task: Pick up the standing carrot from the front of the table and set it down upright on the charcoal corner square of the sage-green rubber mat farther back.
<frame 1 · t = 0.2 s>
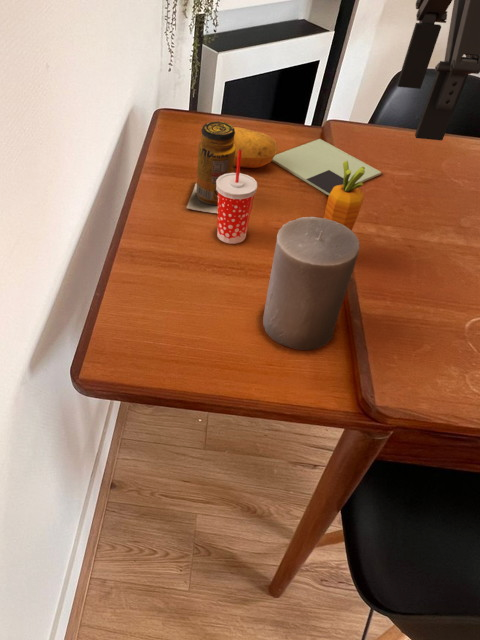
hand: (417, 110, 59), 24 cm above the table, tool pointing down, fingers open, 13 cm apart
condiment: (211, 200, 91), on the table
pillar candle: (296, 326, 71), on the table
beverage cup: (231, 236, 84), on the table
carrot: (329, 257, 82), on the table
potato: (238, 164, 100), on the table
corner mat: (324, 166, 100), on the table
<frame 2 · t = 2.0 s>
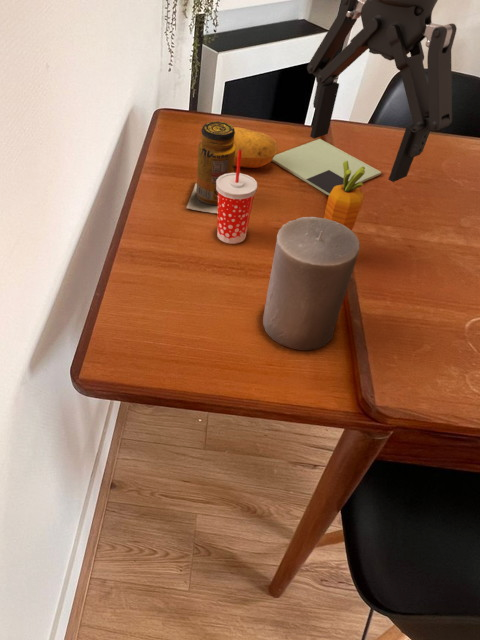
hand: (356, 155, 69), 16 cm above the table, tool pointing down, fingers open, 13 cm apart
nothing on the table moved.
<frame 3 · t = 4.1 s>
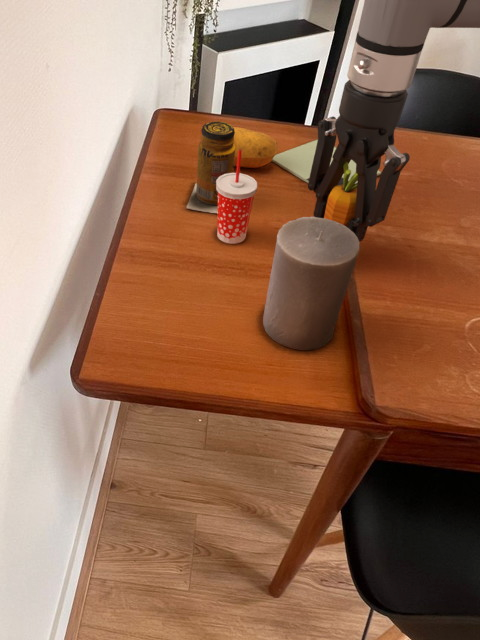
hand: (332, 247, 80), 2 cm above the table, tool pointing down, fingers closed on carrot, 5 cm apart
carrot: (329, 257, 82), on the table, touching gripper
everything else where it was.
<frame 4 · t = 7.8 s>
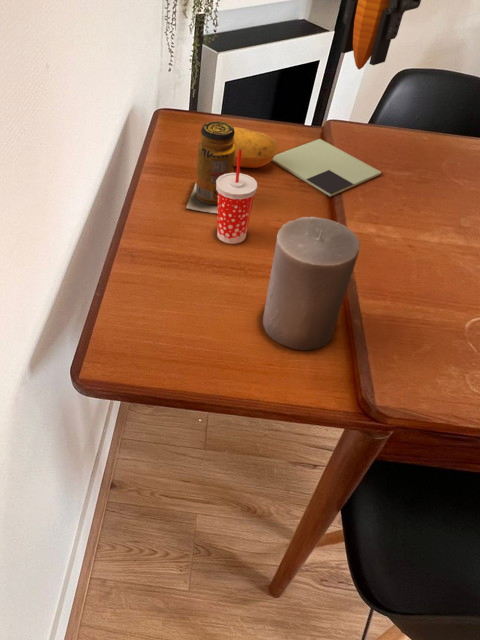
hand: (362, 56, 78), 22 cm above the table, tool pointing down, fingers closed on carrot, 5 cm apart
carrot: (358, 70, 80), point 20 cm above the table, touching gripper
everything else where it was.
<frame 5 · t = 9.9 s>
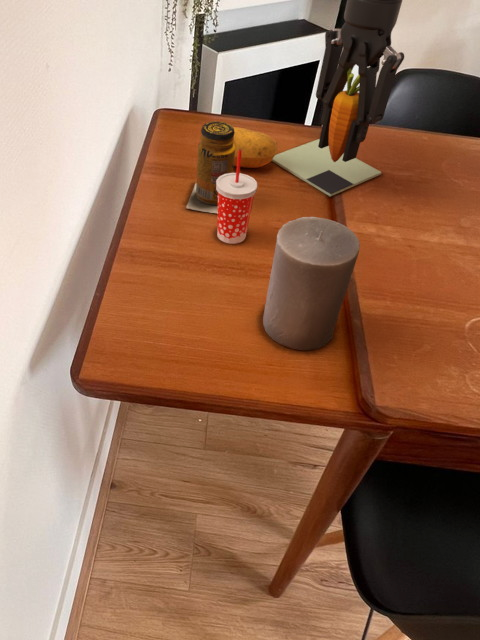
hand: (336, 152, 91), 6 cm above the table, tool pointing down, fingers closed on carrot, 5 cm apart
carrot: (334, 162, 93), point 4 cm above the table, touching gripper
everything else where it was.
when the fingers open (2 cm above the table, at t = 11.3 s): carrot stays where it is, resting on corner mat.
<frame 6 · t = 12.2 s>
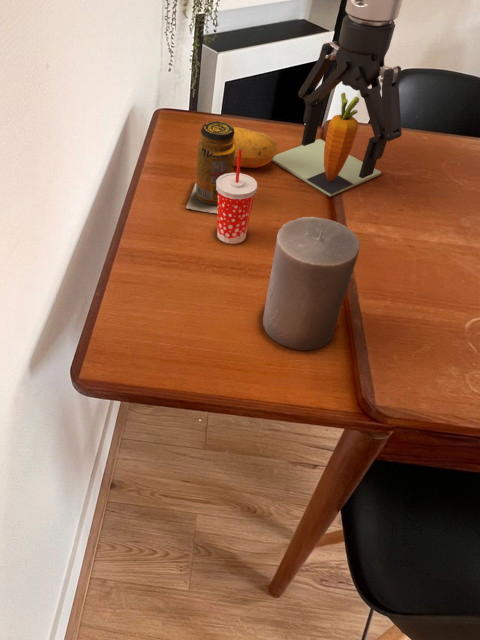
hand: (335, 159, 92), 5 cm above the table, tool pointing down, fingers open, 13 cm apart
carrot: (329, 182, 96), resting on corner mat
everything else where it was.
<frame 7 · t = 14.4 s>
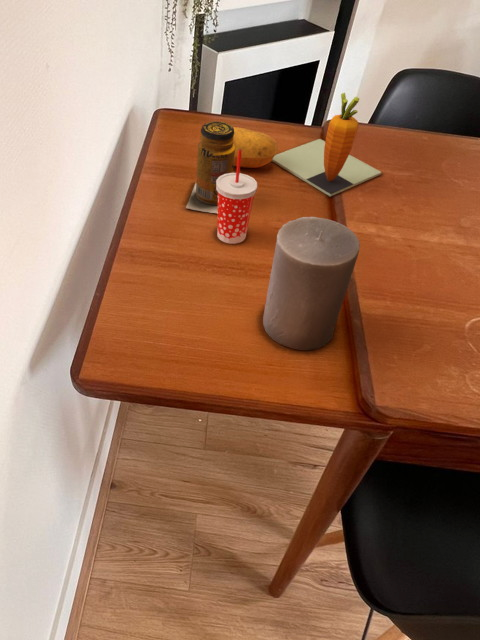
nothing on the table moved.
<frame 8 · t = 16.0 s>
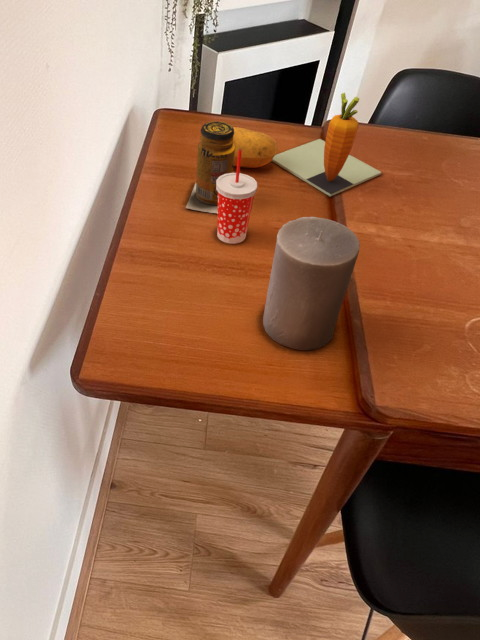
nothing on the table moved.
at the end: carrot inside the target area on the corner mat (0.0 cm from its centre), point 0.4 cm above the corner mat's base; carrot tilted 0°; the gripper is holding nothing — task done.
